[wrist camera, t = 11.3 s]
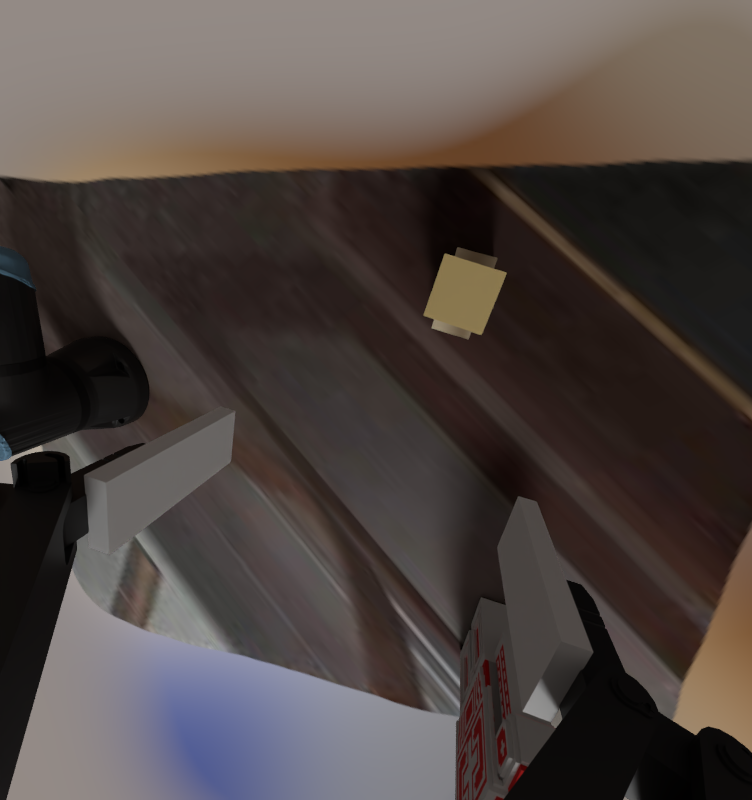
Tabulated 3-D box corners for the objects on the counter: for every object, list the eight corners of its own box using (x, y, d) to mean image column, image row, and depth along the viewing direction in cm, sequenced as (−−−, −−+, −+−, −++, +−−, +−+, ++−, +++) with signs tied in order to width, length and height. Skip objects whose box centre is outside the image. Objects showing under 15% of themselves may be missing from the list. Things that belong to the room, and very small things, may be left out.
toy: (486, 570, 55) (512, 858, 27) (536, 585, 54) (617, 903, 26) (450, 670, 63) (442, 977, 35) (494, 685, 62) (521, 1015, 34)
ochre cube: (428, 311, 41) (423, 315, 36) (447, 258, 39) (444, 253, 34) (478, 328, 41) (481, 335, 35) (500, 274, 39) (506, 272, 33)
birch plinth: (434, 324, 47) (431, 328, 42) (457, 251, 44) (457, 247, 39) (467, 334, 46) (468, 339, 41) (493, 261, 43) (497, 258, 38)
